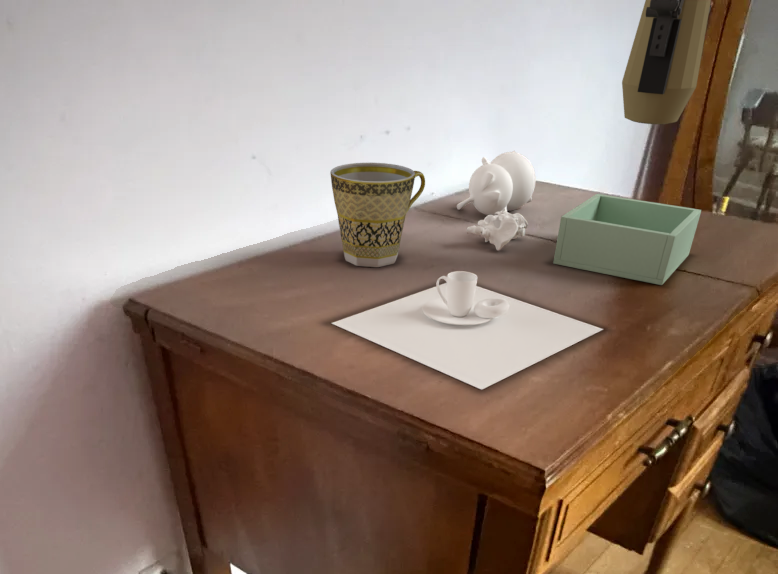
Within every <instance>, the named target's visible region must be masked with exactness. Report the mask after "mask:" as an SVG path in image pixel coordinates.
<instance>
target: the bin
mask: <svg viewBox="0 0 778 574" xmlns="http://www.w3.org/2000/svg"><path fill="white" fill-rule="evenodd" d="M701 213H702V209H697V208H692V207H686V206H678V205H673V204H666V203H660V202H654V201H646V200H640V199H633V198H628V197H627V198H626V197H621V196H615V195H609V194H603V193H602V194H601V193H596V194H594V195H593V196H591V197H589V198H588V199H587V200H585V201H583V202H581V203H580V204H579V205H577V206H575V207H574V208H572V209H571V210H570V211H568V212H566V213H565V214H563V215H561V217H560V221H559V227H558V233H557V239H556V245H555V250H554V257H553V262H552V263H553V264H554V265H558V266H563V267H568V268H574V269H579V270H583V271H588V272H593V273H599V274H603V275H609V276H612V277H613V276H614V277H618V278H623V279H624V278H625V279H628V280H634V281H638V282H643V283H648V284H652V285H659V286H663V285H664V284H665V283H666V281H667V280H668V279H669V278H670V277H671V276H672V275H673V273H674V272H676V270H677V269H678V268H679V267H680V266H681V265H682V264H683V262H684V261H685V260H686V259H687V258H688V257H689V255H690V253H691V252H690V251H691V248H692V246H693V241H694V238H695V236H696V235H695V234H696V231H697V228H698V224H699V220H700V217H701Z"/></svg>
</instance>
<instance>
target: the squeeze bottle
mask: <svg viewBox="0 0 778 574" xmlns="http://www.w3.org/2000/svg"><path fill="white" fill-rule="evenodd" d="M650 1H651V0H645V1H644V5H643V8H642V11H641V15H640V18H639V22H638V25H637V28H636V32H635V36H634V39H633V42H632V45H631V49H630V53H629V55H628V59H627V63H626V67H625V70H624V73H623V77H622V81H621V86H622V103H623V117H624V119H626V120H629V121H631V122H634V123H639V124H646V125H668V124H674V123H676V122H678V121H679V119H680V117H681V115H682V113H683V112H684V110H685V108H686V106H687V105H688V102H689V101H690V99H691V97H692V96H693V93H694V92H695V90H696V88H697V85H698V78H699V73H700V67H701V61H702V55H703V49H704V43H705V37H706V31H707V25H708V20H709V14H710V12H709V9H710V5H711V3H712V0H684V3H683V6H682V11H681V14H680V15H679V18H678V19H682V21H681V25H680V29H679V34H678V38H677V42H676V46H675V51H674V55H673V59H672V63H671V68H670V72H669V76H668V80H667V85H666V89H665V93H664V94H653V93H643V92H638V87H639V82H640V78H641V73H642V68H643V64H644V59H645V54H646V50H647V45H648V41H649V36H650V31H651V27H652V22H653V18H655V17H646V9H647V7H650ZM710 10H711V9H710Z"/></svg>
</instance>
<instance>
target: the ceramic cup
mask: <svg viewBox="0 0 778 574" xmlns="http://www.w3.org/2000/svg"><path fill="white" fill-rule="evenodd" d="M329 175H330V182H331V188H332V195H333V201H334V207H335V211H336V214H337V220H338V221H337V222H338V227H339V232H340V238H341V244H342V251H343V256H344V259H345V261H346V262H348V263H349V264H352V265H354V266H355V267H368V268H370V267H371V268H379V267H385V266H389V265H393V264H394V265H395V263H396V261H397V258H398V255H399V251H400V245H401V239H402V234H403V231H404V225H405V220H406V215H407V213H408V212H409V210H410V208H411V207H412V205H413V204H414V203H415V202H416V201H417V200H418V199H419V197H420V196H421V195H422V193H423V192H424V190H425V187H426V178H425V175H424V173H423V172H422V171H419V170H413V169H411V168H409V167H407V166H404V165H399V164H395V163H386V162H354V163H345V164H341V165H337V166H335V167H333V168H332V169H331V170H330V173H329ZM417 177H419V178H420V186H419V189H418V190H417V192H416V193H415V194H414V195H413V190H414V185H415V180H416V178H417ZM412 195H413V196H412Z"/></svg>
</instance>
